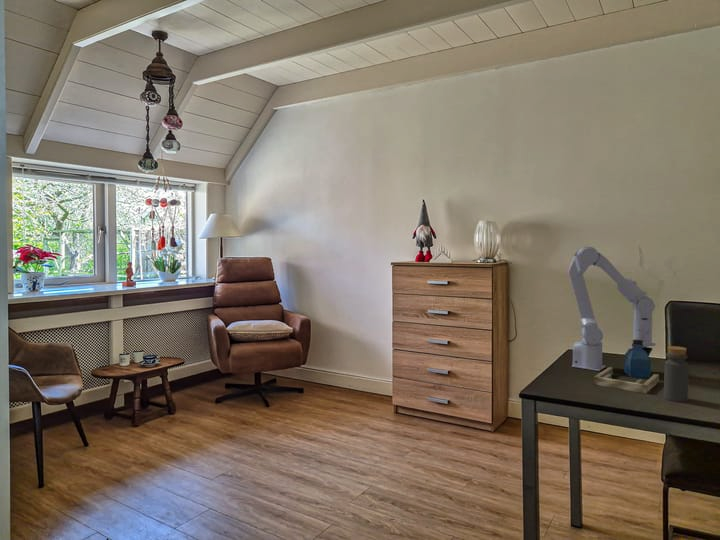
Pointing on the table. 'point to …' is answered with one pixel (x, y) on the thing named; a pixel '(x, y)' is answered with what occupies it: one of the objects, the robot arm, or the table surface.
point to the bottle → (676, 375)
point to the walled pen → (625, 382)
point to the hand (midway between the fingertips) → (641, 368)
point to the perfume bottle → (637, 361)
